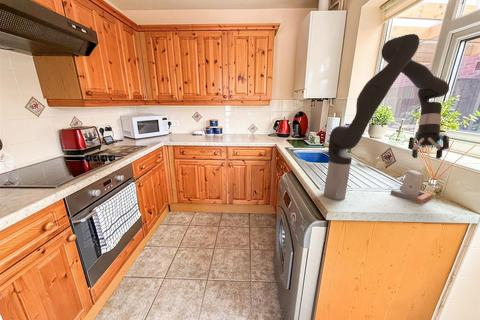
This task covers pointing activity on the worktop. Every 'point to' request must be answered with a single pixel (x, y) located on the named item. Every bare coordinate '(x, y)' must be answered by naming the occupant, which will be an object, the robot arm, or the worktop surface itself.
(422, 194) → the channel
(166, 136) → the worktop surface
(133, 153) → the worktop surface
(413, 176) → the skincare box
